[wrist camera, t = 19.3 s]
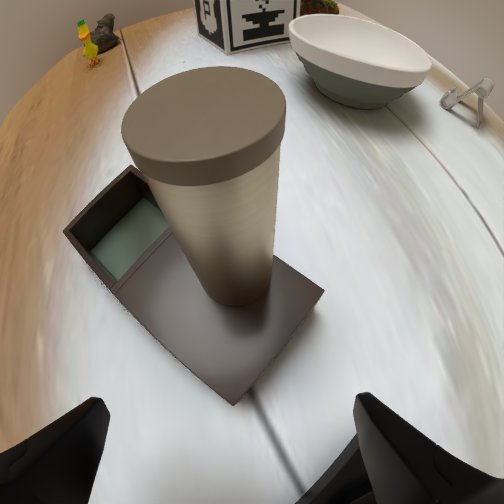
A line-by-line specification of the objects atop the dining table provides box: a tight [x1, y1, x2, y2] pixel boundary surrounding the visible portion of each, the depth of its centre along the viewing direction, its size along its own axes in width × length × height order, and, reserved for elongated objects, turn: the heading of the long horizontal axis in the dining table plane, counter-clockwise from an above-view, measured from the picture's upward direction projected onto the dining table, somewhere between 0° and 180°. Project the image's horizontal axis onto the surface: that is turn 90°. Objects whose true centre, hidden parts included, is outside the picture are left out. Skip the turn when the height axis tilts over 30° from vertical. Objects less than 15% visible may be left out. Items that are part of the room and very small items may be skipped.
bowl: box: [289, 14, 432, 109], centre depth 32 cm, size 20×20×10 cm
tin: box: [121, 66, 286, 306], centre depth 14 cm, size 5×5×13 cm
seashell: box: [84, 14, 119, 53], centre depth 46 cm, size 11×12×10 cm
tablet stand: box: [440, 77, 494, 128], centre depth 32 cm, size 9×8×8 cm
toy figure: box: [77, 20, 99, 66], centre depth 41 cm, size 7×4×12 cm, turn 25°
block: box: [193, 0, 301, 55], centre depth 39 cm, size 15×15×15 cm
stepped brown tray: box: [63, 165, 325, 406], centre depth 22 cm, size 9×20×4 cm, turn 51°
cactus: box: [300, 0, 339, 17], centre depth 47 cm, size 17×16×10 cm
